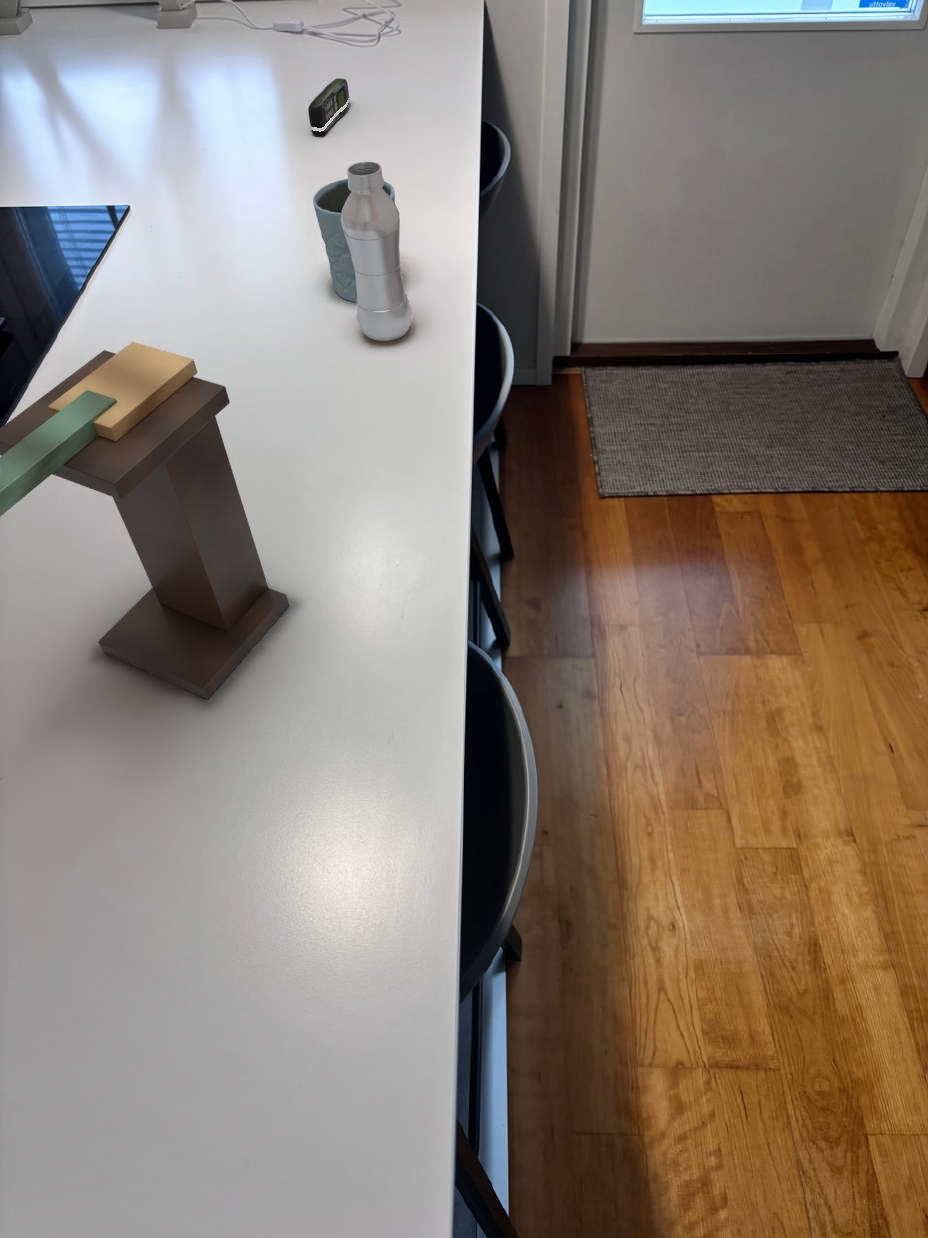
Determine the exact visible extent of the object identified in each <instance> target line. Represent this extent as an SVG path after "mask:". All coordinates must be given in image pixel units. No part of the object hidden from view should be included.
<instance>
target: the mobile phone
mask: <svg viewBox="0 0 928 1238" xmlns="http://www.w3.org/2000/svg"><path fill="white" fill-rule="evenodd" d="M348 98H349V99H350V91H349V84H348V81H347V79H346V78H339V77H338V78H335V79H334V80H332V81H331V82H330V83H329V84H327V85H326V86H324V89H323V90H322V91H321V92H320V93H318V94H317V96H315V97H314V99H313V100H312V101H311V102H310V104H309V105H308V109H307V111H308V113H307V114H308V120H309V126H310V125H311V126H312V127H317V128H322V127H324V126H325V124H326V123H327V122H328V121H329V120H330V118H332V117H333V116H334V114H335V113H336V112H337V111H338V110H339V109H340V108H341V107H343V106H344V105H345V104H346V102H347V100H348ZM349 105H350V102H349V103H348V105H347V107H346V108H345V109H344V110H343V111H342V112H340V113H339V114H338V115H337V116H336V117H335V118H334V119H333V121H332V122H331V123H330V124H329V125H328V126H327V128H326V129H325V130H324V131H321V132H319V131H313V130H311V129H310V131H311V133H312V134H313V136H317V137H323V136H325V135H327V133H328V131H329V130H330V129H331V128H332V127H333V126H334V125H335V124H336V123H337V122H338V120H340V119H341V118H342V117H343V116H345V114H346V113H347V111H348V107H349ZM311 126H310V127H311Z"/></svg>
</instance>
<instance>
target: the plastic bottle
mask: <svg viewBox="0 0 928 1238" xmlns="http://www.w3.org/2000/svg"><path fill="white" fill-rule="evenodd" d="M346 173H347V179H348V188H349V190H351V193H350V195H349V197H348V198H347V200H346V202H345V204H344V207H343V209H342V213H341V223H342V227H343V230H344V234H345V237H346V240H347V243H348V246H349V249H350V253H351V257H352V262H353V265H354V271H355V276H356V288H357V302H356V307H355V308H356V320H357V323H358V326H359V329H360V330H361V332H362V333H363V334H364V335H365V336H366V337H367V338H369V339H371V340H373V341H374V340H375V341H379V342H387V341H388V342H389V341H393V340H396V339H397V340H398V339H400V338H401V337H403V336H404V335H405V334H407V332H408V331H409V329H410V327H411V326H412V317H413V310H412V306H411V302H410V299H409V296H408V294H407V292H406V288H405V287H406V286H405V283H404V277H403V273H402V267H401V251H400V232H401V231H400V230H401V229H400V228H401V225H400V224H401V221H400V211H399V209H398V207H397V205H396V202H395V203H394V202H393V200H392V199H391V198H390V196H389V195H388V194H387V193H386V192H385V191H384V190H383V189H382V187H383V186H384V181H385V180H384V177H383V169H382V166H381V164H379V163H377V162H375V161H360V162H356V163H354V164H351V165H349V167H347V171H346Z"/></svg>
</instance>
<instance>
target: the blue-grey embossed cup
mask: <svg viewBox="0 0 928 1238" xmlns="http://www.w3.org/2000/svg"><path fill="white" fill-rule="evenodd" d="M382 189H383V190H384V191H385V192H386V193H387V194H388V195H389V196H390V198H391V199H392V200H393V202H394V203H395V204H396V195H395V189H394V187H393V185H392V184H390V183H389V182H387V181H385V180H384V186H383V187H382ZM350 193H351V190H349V188H348V178H344V179H340V180H336V181H333V182H330V183H328V184H326V185H324V186H322V187H321V188H320V189H319V190H317V191H316V192H315V194H314V195H313V198H312V204H313V208H314V212H315V215H316V219H317V223H318V227H319V229H320V230H319V231H320V235H321V236H320V237H321V238H322V241H323V243H324V245H325V246H324V247H325V253H326V256H327V257H328V258H327V260H328V263H329V269H330V270H329V271H330V276H331V279H332V283H333V287H334V290H335V293H336V294H337V296H338V297H340V298H342V299H344V300H346V301H349V302H352V303H357V288H356V276H355V271H354V265H353V262H352V257H351V253H350V249H349V246H348V243H347V240H346V237H345V234H344V230H343V227H342V223H341V213H342V209H343V207H344V204H345V202H346V200H347V198H348V197H349V195H350Z"/></svg>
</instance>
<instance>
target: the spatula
mask: <svg viewBox="0 0 928 1238" xmlns="http://www.w3.org/2000/svg"><path fill="white" fill-rule="evenodd" d="M197 374H198V369H197V365H196V363H195V359H194V358H190V357H188V356H183V355H180V354H177V353H174V352H171V351H166V350H163V349H160V348H156V347H153V346H150V345H147V344H144V343H139V342H136V341H131V342H130V343H129V344H127V345H126V346H124V347H123V348H122V349H121V350H119V351H117V353H116V355H114V356H113V357H112V358H110V359H109V360H108V361H106V362H105V363H104V364H103V365H101V366H100V367H99V368H97V369H96V370H95V371H93V372H92V373H91V374H89V375H88V376H87V377H86V378H84V379H83V380H82V381H80V382H79V383H78V384H76V385H75V386H74V387H72V388H71V389H70V390H69V391H67V392H66V393H65V394H63V395H62V396H61V397H59V398H58V399H57V400H55V401H54V402H53V403H52V404H50V405H49V406H48V408H49V411H50V413H51V415H52V417H51V418H50V419H49V420H47V421H46V422H45V423H43V424H42V425H41V426H40V427H38V428H37V429H36V430H34V431H33V432H32V433H31V434H29V435H28V436H27V437H25V438H24V439H23V440H22V441H20V442H19V443H18V444H16V445H15V446H14V447H13V448H11V449H10V450H9V451H7V452H6V453H5V454H4V455H2V456H1V455H0V517H2V516H3V515H4V514H5V513H7V512H8V511H10V509H11V508H13V507H14V506H15V505H16V504H18V503H19V502H20V501H22V500H23V499H24V498H25V497H26V496H27V495H28V494H30V493H31V492H32V491H34V489H36V488H37V487H39V486H40V485H41V484H42V483H43V482H44V481H45V480H47V479H48V478H49V477H51V476H52V475H53V473H54V472H55V471H56V470H57V469H59V468H60V467H61V466H62V465H64V464H65V463H66V462H67V461H68V460H70V459H71V458H72V457H73V456H74V455H76V454H77V453H78V452H79V451H81V450H82V449H83V448H84V447H85V446H87V445H88V444H89V443H90V442H91V441H93V440H94V439H95V438H96V437H98V436H102V437H105V438H108V439H111V440H114V441H117V440H118V439H119V438H121V437H122V436H123V435H124V434H125V433H127V432H128V431H129V430H130V429H131V428H133V427H134V426H135V425H136V424H137V423H139V422H140V421H141V420H142V419H143V418H144V417H146V416H147V415H148V414H149V413H150V412H152V411H153V410H154V409H155V408H156V407H158V406H159V405H160V404H161V403H162V402H163V401H165V400H166V399H167V398H168V397H169V396H171V395H172V394H173V393H174V392H175V391H177V390H178V389H179V388H180V387H181V386H183V385H184V384H185V383H186V382H187V381H188V380H190V379H191V378H192V377H195V376H196V375H197Z"/></svg>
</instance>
